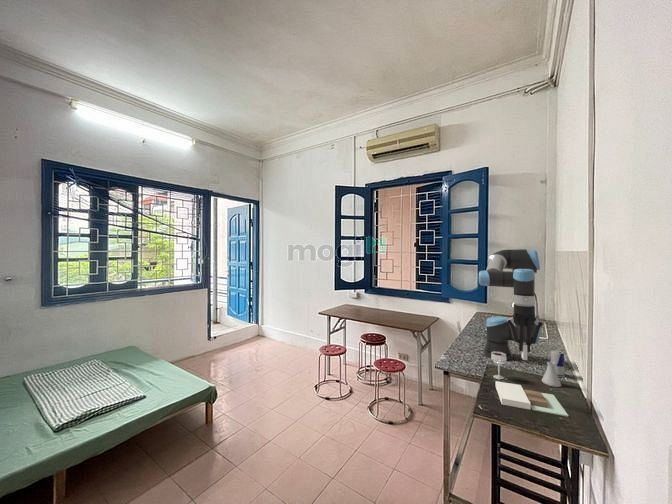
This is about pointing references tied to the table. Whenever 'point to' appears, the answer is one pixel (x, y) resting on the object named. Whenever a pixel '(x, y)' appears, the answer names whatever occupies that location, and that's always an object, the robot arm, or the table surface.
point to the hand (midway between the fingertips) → (524, 358)
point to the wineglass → (498, 361)
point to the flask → (551, 376)
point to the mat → (551, 406)
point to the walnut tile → (536, 398)
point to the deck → (512, 395)
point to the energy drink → (558, 362)
